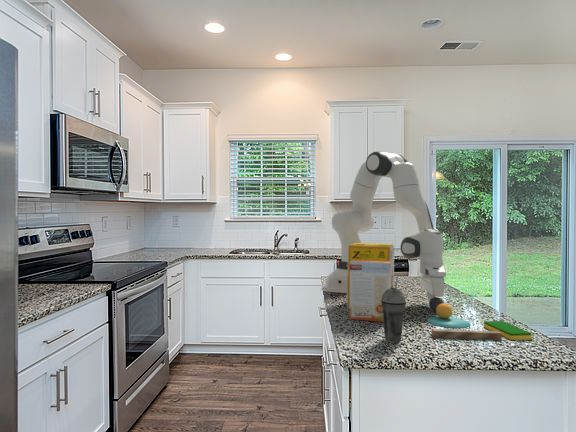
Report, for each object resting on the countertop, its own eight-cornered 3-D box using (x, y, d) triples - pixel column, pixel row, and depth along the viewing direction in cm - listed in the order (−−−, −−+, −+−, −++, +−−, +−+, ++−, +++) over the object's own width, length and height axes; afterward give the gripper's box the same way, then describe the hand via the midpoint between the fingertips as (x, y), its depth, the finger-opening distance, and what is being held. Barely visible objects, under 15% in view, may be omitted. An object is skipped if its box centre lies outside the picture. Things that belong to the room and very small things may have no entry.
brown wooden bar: (433, 337, 122) (433, 331, 122) (431, 335, 124) (431, 329, 124) (501, 339, 120) (501, 333, 120) (498, 337, 122) (498, 331, 122)
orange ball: (433, 313, 147) (437, 321, 142) (435, 300, 146) (439, 308, 140) (449, 313, 147) (453, 322, 142) (450, 300, 145) (455, 308, 140)
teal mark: (433, 327, 132) (433, 326, 132) (422, 316, 146) (422, 315, 146) (477, 328, 131) (477, 328, 131) (462, 317, 145) (462, 317, 145)
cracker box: (390, 319, 143) (391, 260, 142) (389, 323, 137) (390, 262, 137) (351, 315, 147) (352, 259, 147) (348, 319, 141) (349, 260, 141)
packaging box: (355, 299, 173) (355, 242, 173) (393, 303, 167) (394, 244, 167) (347, 308, 158) (347, 245, 158) (388, 312, 152) (389, 247, 152)
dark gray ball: (427, 295, 157) (427, 308, 157) (431, 299, 151) (431, 313, 152) (441, 295, 156) (441, 309, 157) (446, 299, 151) (445, 313, 151)
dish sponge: (510, 341, 120) (510, 333, 120) (483, 328, 134) (483, 321, 134) (532, 341, 121) (532, 333, 121) (502, 327, 135) (502, 320, 135)
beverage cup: (377, 336, 122) (378, 271, 122) (400, 336, 123) (401, 271, 122) (385, 344, 115) (385, 275, 115) (409, 344, 115) (410, 275, 115)
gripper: (417, 265, 171) (417, 297, 171) (430, 272, 151) (429, 309, 151) (432, 265, 171) (432, 298, 171) (447, 273, 150) (446, 309, 150)
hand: (431, 303), depth 161 cm, fingers closed
